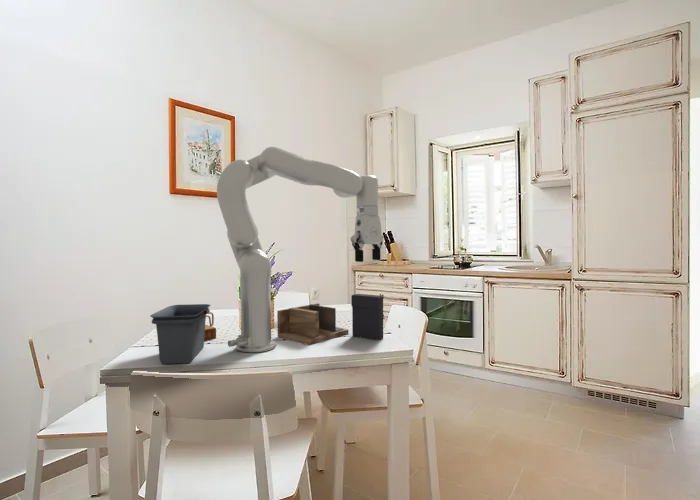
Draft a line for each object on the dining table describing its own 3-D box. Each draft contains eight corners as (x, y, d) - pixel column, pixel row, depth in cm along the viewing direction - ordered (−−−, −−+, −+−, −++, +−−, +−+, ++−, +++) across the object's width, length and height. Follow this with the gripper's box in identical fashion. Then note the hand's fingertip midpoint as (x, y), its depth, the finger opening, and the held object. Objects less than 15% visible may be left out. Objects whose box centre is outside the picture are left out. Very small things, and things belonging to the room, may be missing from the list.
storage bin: (171, 347, 136) (169, 303, 136) (219, 345, 138) (219, 302, 138) (147, 368, 115) (146, 317, 115) (205, 365, 117) (204, 315, 116)
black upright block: (384, 338, 146) (384, 295, 146) (378, 340, 143) (378, 297, 142) (357, 334, 152) (357, 293, 152) (351, 336, 149) (351, 294, 148)
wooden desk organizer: (309, 344, 138) (308, 314, 138) (277, 337, 148) (277, 309, 148) (348, 333, 153) (348, 306, 153) (317, 327, 164) (317, 301, 163)
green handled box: (193, 344, 142) (193, 331, 141) (175, 335, 153) (174, 324, 153) (216, 339, 147) (216, 327, 147) (197, 331, 159) (196, 320, 159)
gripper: (360, 210, 137) (360, 262, 137) (390, 212, 150) (391, 259, 150) (342, 211, 141) (343, 262, 142) (373, 212, 155) (374, 258, 155)
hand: (368, 260), depth 146 cm, fingers open, 9 cm apart
